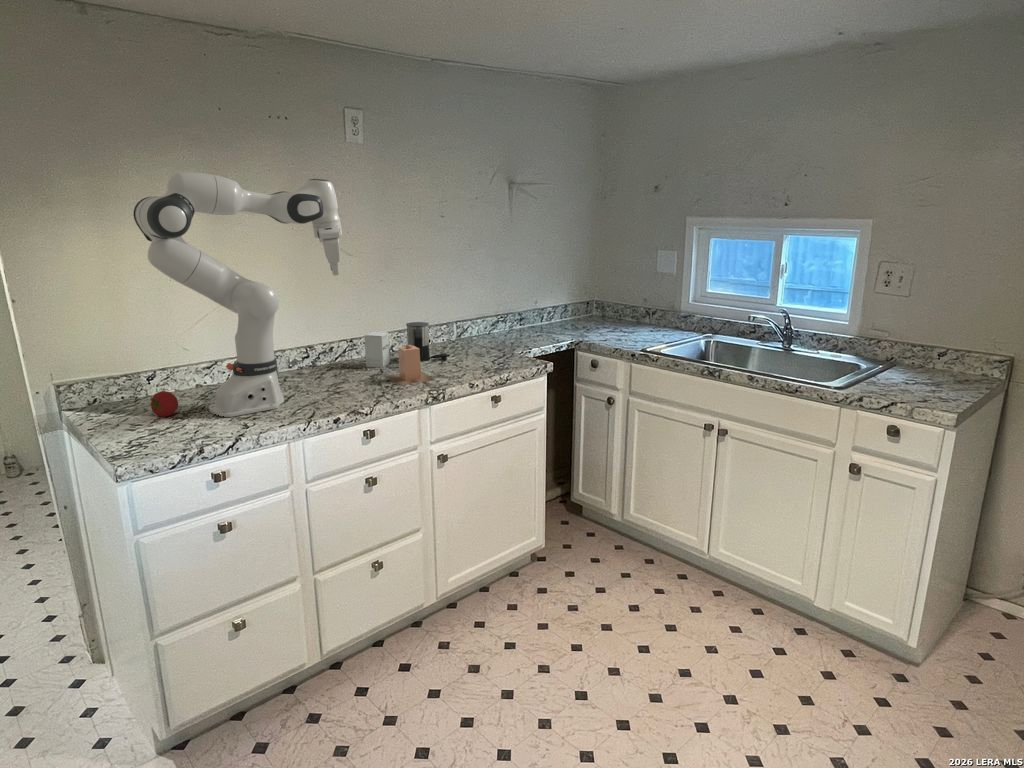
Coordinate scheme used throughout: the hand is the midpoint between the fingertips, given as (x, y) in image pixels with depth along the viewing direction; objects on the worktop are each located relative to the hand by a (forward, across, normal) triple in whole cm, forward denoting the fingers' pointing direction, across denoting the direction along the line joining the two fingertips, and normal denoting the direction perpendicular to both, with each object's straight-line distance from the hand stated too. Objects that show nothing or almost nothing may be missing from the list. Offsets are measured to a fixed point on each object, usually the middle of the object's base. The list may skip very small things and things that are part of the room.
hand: (334, 272), depth 217 cm
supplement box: (+42, -24, +12) cm, 50 cm away
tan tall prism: (+40, +2, +20) cm, 45 cm away
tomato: (+34, +18, -57) cm, 69 cm away
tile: (+41, +2, +20) cm, 46 cm away
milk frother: (+44, -27, +32) cm, 61 cm away
